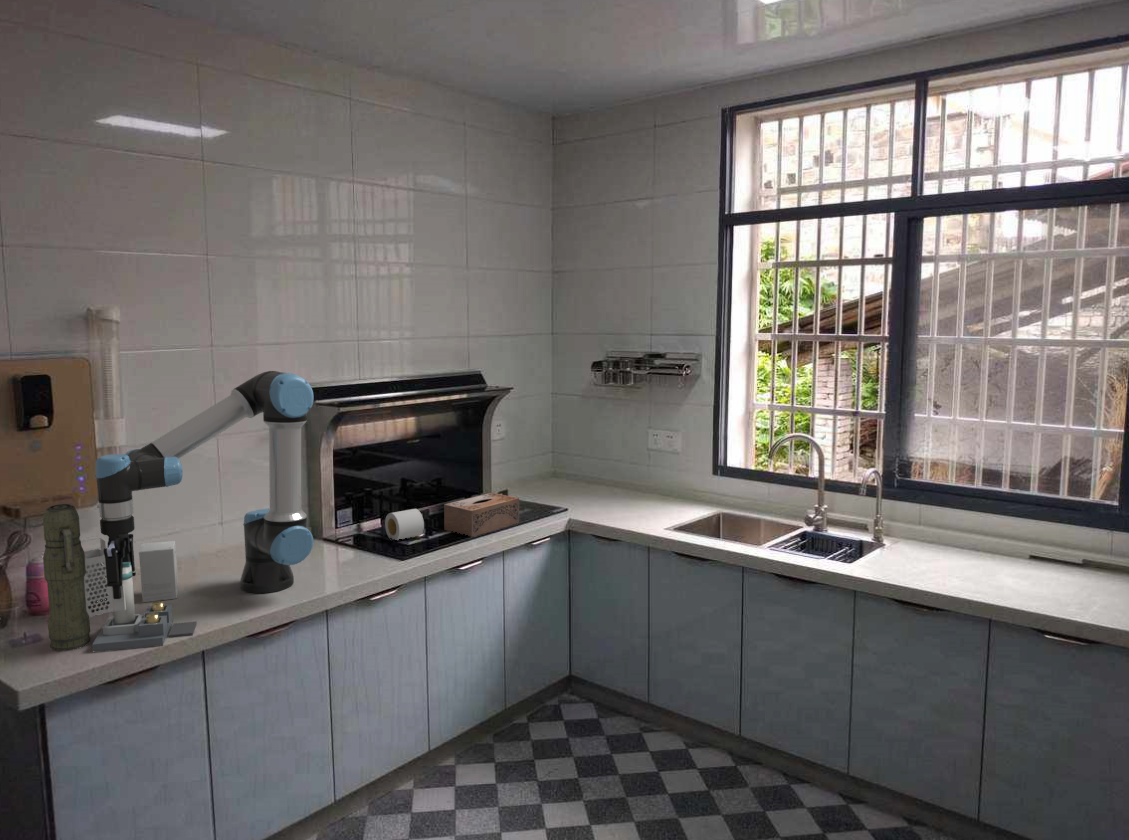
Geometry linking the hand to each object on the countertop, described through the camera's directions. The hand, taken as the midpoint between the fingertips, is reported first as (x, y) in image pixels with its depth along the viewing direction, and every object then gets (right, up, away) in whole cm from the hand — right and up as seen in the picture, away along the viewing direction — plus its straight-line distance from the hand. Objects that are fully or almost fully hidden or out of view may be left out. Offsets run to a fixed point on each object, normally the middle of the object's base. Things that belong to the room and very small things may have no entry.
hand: (123, 605), depth 214 cm
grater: (-18, -5, +18) cm, 26 cm away
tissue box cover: (+80, +6, +107) cm, 134 cm away
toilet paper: (+54, +4, +90) cm, 106 cm away
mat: (+13, -7, +5) cm, 16 cm away
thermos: (-11, -9, -4) cm, 15 cm away
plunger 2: (+8, -6, -2) cm, 10 cm away
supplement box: (-5, -4, +30) cm, 30 cm away
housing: (+2, -8, +1) cm, 8 cm away
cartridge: (0, -4, +1) cm, 4 cm away
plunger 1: (+6, -5, +7) cm, 10 cm away
